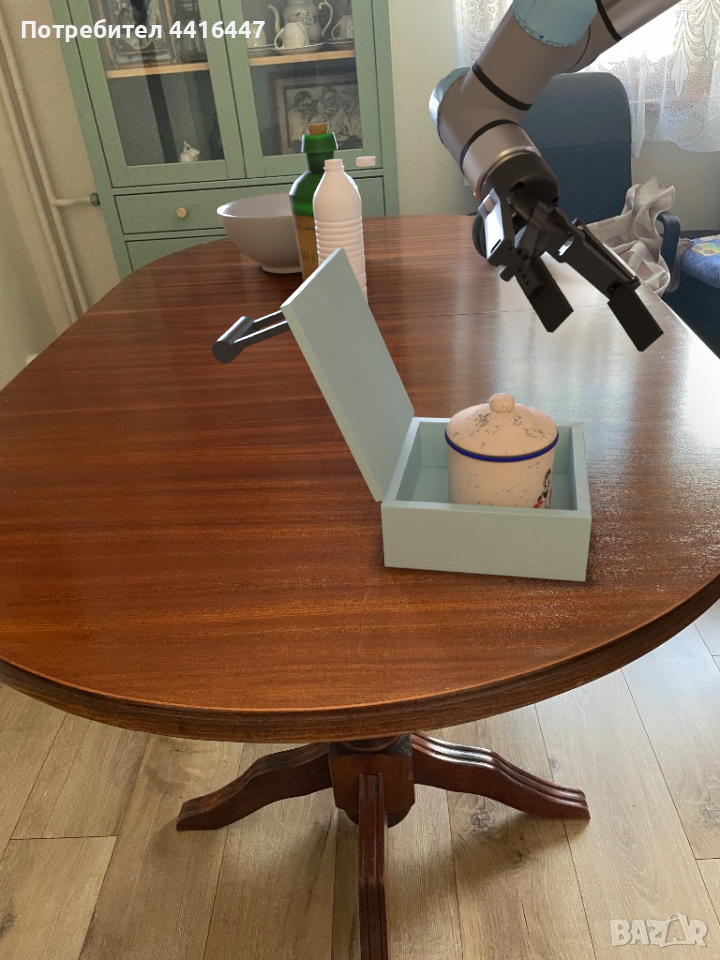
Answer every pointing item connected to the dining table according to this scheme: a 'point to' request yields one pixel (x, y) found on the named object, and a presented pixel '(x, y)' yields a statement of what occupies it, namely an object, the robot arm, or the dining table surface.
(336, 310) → the lid
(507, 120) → the robot arm
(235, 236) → the decorative bowl
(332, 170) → the water bottle
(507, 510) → the pale green box base
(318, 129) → the bottle
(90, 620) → the dining table surface
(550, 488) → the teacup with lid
